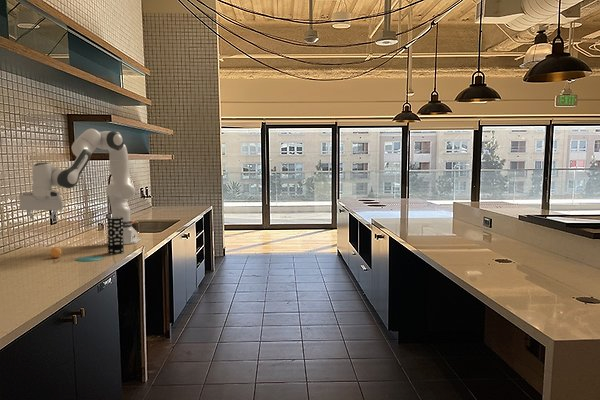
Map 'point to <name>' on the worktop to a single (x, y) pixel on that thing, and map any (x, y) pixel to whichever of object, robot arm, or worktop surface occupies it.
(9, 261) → the worktop surface
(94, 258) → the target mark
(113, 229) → the spotted tube
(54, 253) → the ball
